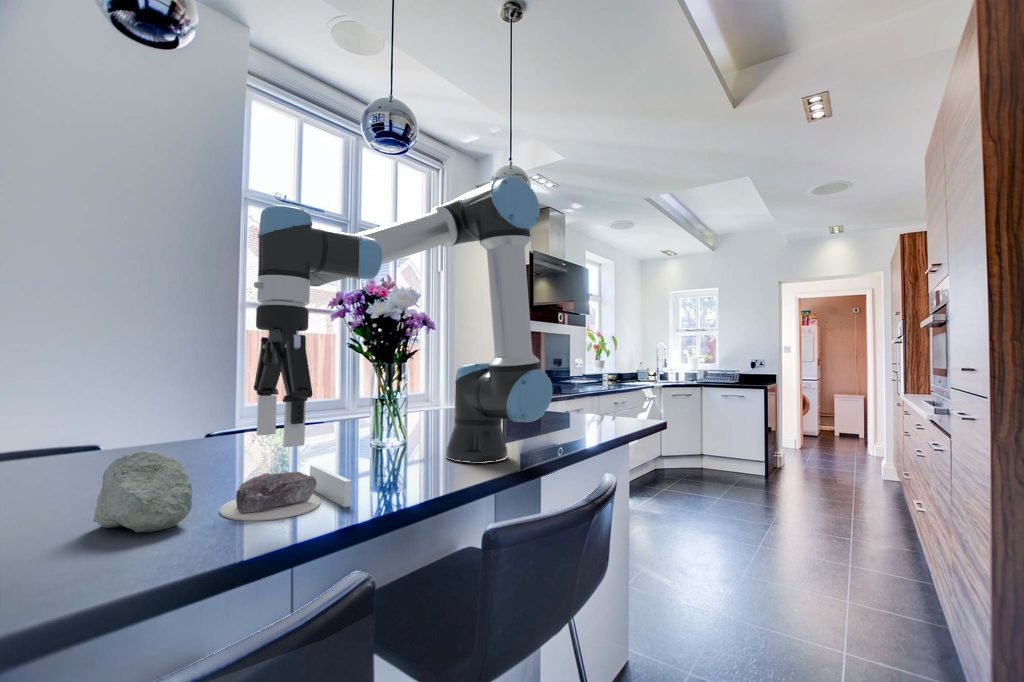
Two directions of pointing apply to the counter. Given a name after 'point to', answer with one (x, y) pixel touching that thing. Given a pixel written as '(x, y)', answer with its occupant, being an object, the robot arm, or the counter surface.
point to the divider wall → (332, 485)
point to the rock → (274, 491)
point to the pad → (270, 510)
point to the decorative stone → (144, 493)
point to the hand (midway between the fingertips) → (279, 440)
